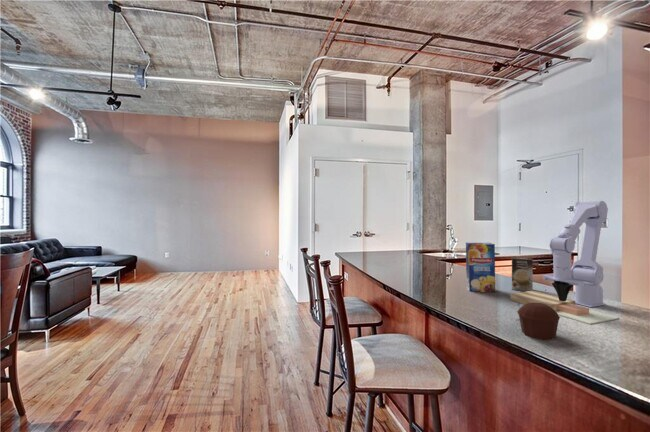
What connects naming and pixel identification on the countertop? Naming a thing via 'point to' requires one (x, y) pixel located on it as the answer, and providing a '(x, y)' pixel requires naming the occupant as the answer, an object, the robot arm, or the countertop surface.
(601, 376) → the countertop surface
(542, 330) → the muffin
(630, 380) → the countertop surface
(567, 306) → the coaster
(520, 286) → the coffee box
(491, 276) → the juice carton
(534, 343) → the countertop surface
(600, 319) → the placemat
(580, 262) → the robot arm
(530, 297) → the board
